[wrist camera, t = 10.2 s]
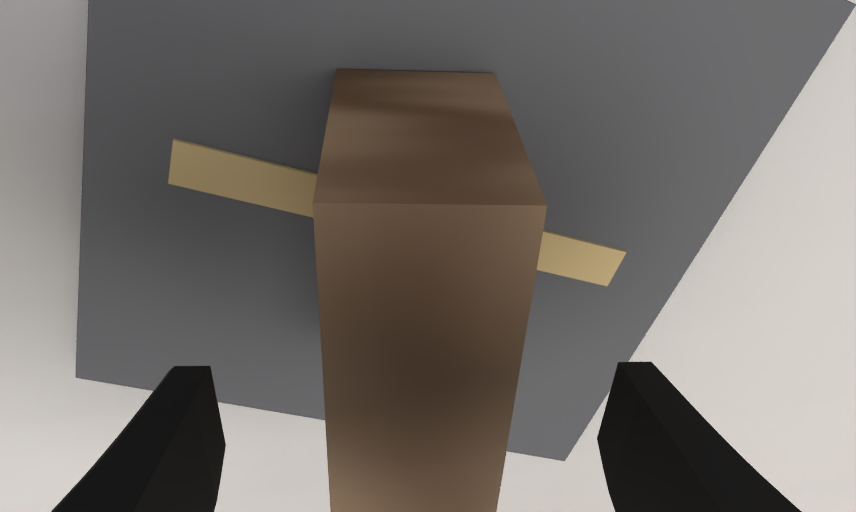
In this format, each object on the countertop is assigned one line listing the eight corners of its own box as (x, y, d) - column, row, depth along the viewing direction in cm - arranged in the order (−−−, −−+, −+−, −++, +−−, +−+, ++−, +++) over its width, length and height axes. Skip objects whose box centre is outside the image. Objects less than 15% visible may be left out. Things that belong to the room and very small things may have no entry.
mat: (81, 365, 20) (74, 379, 20) (107, -269, 12) (95, -272, 12) (561, 449, 24) (565, 463, 23) (843, -2, 15) (858, 5, 15)
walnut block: (345, 338, 20) (331, 521, 15) (336, 68, 15) (312, 202, 10) (467, 338, 20) (495, 519, 15) (495, 73, 15) (547, 206, 10)
